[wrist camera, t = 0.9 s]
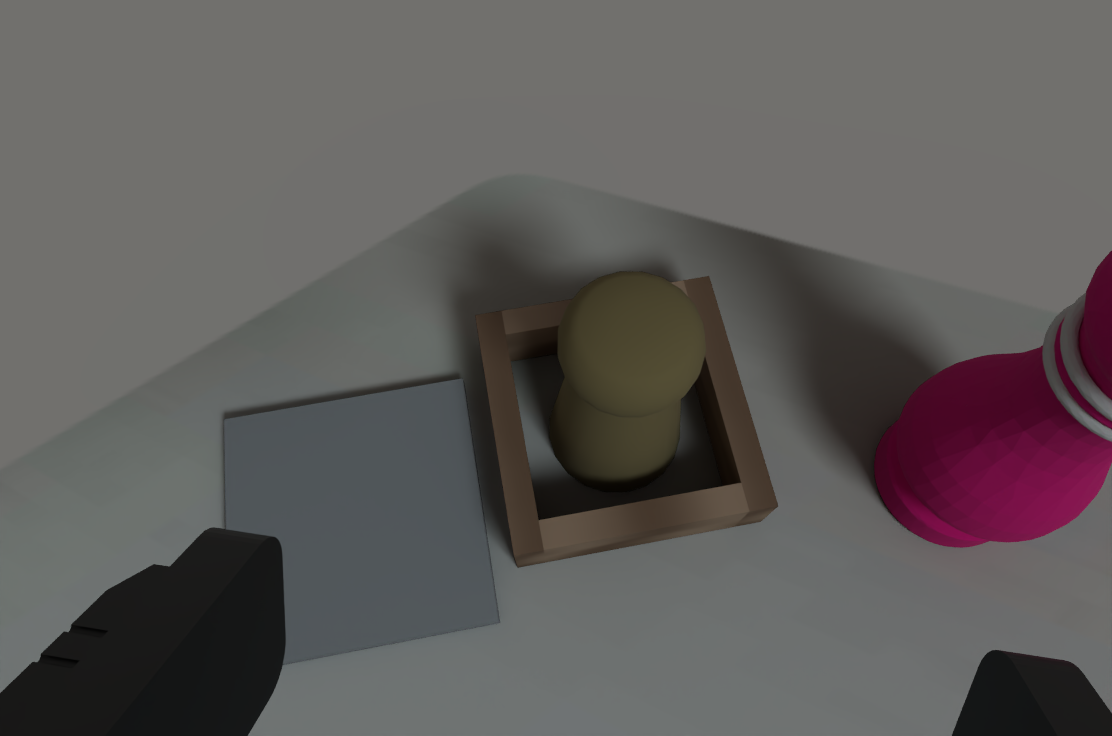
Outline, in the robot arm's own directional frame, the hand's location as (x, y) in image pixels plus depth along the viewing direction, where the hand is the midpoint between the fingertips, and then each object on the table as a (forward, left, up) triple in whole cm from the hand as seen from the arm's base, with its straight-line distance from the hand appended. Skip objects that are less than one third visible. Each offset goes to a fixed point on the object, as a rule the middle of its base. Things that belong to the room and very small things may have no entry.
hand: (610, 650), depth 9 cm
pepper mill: (+18, +5, -25) cm, 31 cm away
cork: (+4, +10, -25) cm, 27 cm away
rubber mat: (-8, +8, -24) cm, 27 cm away
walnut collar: (+4, +10, -24) cm, 27 cm away
